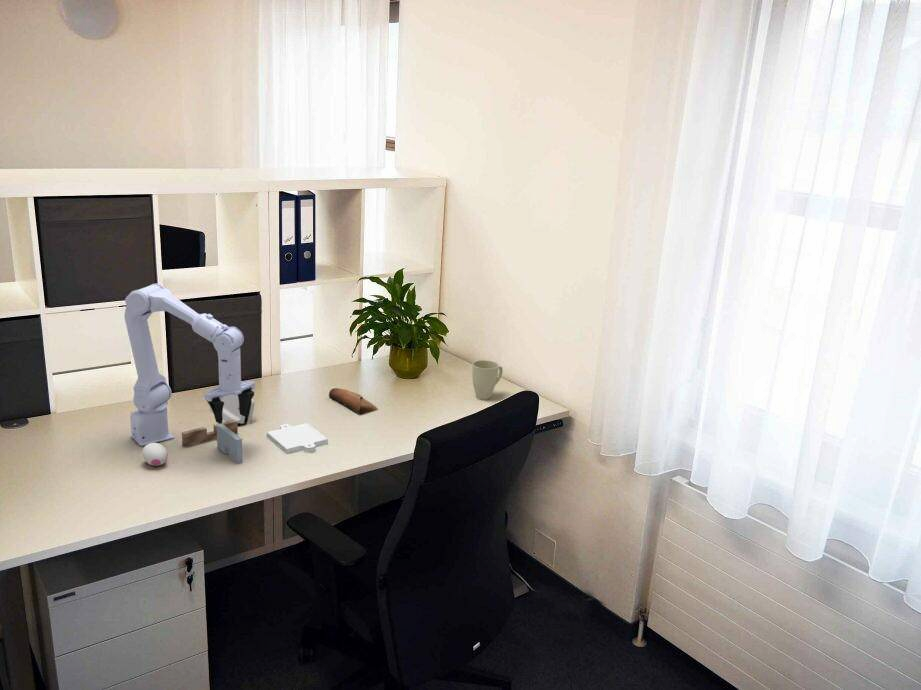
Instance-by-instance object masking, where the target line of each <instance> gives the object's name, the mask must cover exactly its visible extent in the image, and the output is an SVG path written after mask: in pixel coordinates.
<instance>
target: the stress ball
mask: <svg viewBox="0 0 921 690" xmlns="http://www.w3.org/2000/svg"><path fill="white" fill-rule="evenodd" d="M141 454H142V458H143V459H144V461H145V462H146V463H145V465H144V467H147V465H151V466H154V467H155V466H162V465H163V464H164V463H165V462H166V461H168V451H167V449H166V447H165V446H164V445H162V444H160V443H159V442H156V443H149V444H147V445H144V447H143V448H142V452H141Z"/></svg>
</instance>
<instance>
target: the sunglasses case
mask: <svg viewBox="0 0 921 690" xmlns="http://www.w3.org/2000/svg"><path fill="white" fill-rule="evenodd" d="M328 397H329V398H331V399H332V400H335V401H337V402H339V403H341V404H343V405H344V406H345V407H348V408H349V409H351V410H353V411H354V412H355V413H358V414H359V415H360V416H362V415H366V414H369V413H373V412H376V411H379V408H378V407H377V406H376V405H374V404H373V403H371V402H370V401H369V400H367V399H366V398H364V397H363V395H361V394H359V393H357V392H354V391H351V390H349V389H345V388H337V387H335V388H332V389H330V390H329V393H328Z"/></svg>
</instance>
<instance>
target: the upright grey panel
mask: <svg viewBox="0 0 921 690" xmlns="http://www.w3.org/2000/svg"><path fill="white" fill-rule="evenodd" d="M217 424H218V423H217ZM216 441H217V442H216V443H217V448H218V450H220V451H221V452H222V453H223V454H228V453H229V458H230V459H231V460H232V461H233V462H234V463H236V464H238V465H239V464H242V463H243V461H244V460H243V456H244V455H243V438H241V436H239V435H238V434H235V433H234V432H232V431H231V430H230V429H228V428H227V427H226V426H224V425H223V424H218V425H217V439H216Z"/></svg>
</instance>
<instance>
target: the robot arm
mask: <svg viewBox="0 0 921 690" xmlns="http://www.w3.org/2000/svg"><path fill="white" fill-rule="evenodd" d="M124 301H125V310H124V322H125V325H126V326H125V327H126V330H127V331H126V332H127V334H128V339H129V343H130V347H131V352H132V356H133V360H134V365H135V369H136V374H137V380H136V382H135V383H134V385H133V397H132V398H133V399H132V401H133V405H134V406H135V409H137V410H135V411H133V412H132V411H131V412H130V437H131V438H132V439H133V440H134V441H135V442H136V443H137V444H138V445H139V446H146V445H147V444H149V443H159V442H160V443H161V442H164V441H168V440H172V439H175V437H174V435H173V434H172V433H171V432H169V421H168V418H169V417H168V403H169V402H168V401H169V400H170V399H171V397H172V388H171V387H170V385H169V383H168V382H167V377H166V376H164V375H163V374H162V373H160V371H159V368H158V363H157V358H156V353H155V351H154V349H155V348H154V344H153V341H152V340H153V339H152V336H151V332H150V327H149V321H148V319H149V318H150V317H151V316H152V314H153V313H156V312H167V313H169V314H171V315H173V316H175V317H177V318H178V319H180V320H182V321H184V322H186V323H187V324H190V325H191V327H192V328H191V329H192V331H193V332H194V333H195V334H197V335H199V336H201V338H203V339H206V341H209V342H210V343H212V345H213V347H214V350H216V352H217V357H218V358H217V359H218V384H219V385H218V387H216V388H213V389H211V390H210V391H207V392H204V400H205V401H206V402H207V403H208V405H209V408H210V407H211V409H212V411H213V412H212V413H213V415H214V416H213V417H214V419H215V422H216V424H218V423H219V424H221V423H223V421H224V420H223V417H222V412H223V406H224V402H222V401H221V399H220V397H224V396H227V395H231V394H235V395H237V394H238V399H239V412H240V415H242V416H246V414H247V410H248V407H249V404H250V401H251V399H252V398H253V399H254V396H255V391H254V390H255V389H256V387H255V386H256V382H254V381H252V380H249V381H242V373H241V372H242V369H241V367H242V365H241V346H242V345H243V344H244V340H245V337H244V334H243V332H242V331H241V330H240V329H239V328H238V327H236V326H228V325H227V324H223V323H222V322H220V321H219V320H217V319H215V318H214V315H212V314H211V313H205V312H204V313H198V312H196V311H195V310H194V309H192V308H191V307H190V306H189V305H187V304H186V303H184V302H183V301H181V300H180V299H179V298H177V297H176V296H174V295H173V294H172V292H171V290H170V289H168V288H166V287H164V286H163V285H162V284H159V283H152V284H150V285H148V286H145V287H142V288H139V289H135V290H132V291H131V292H130V293H128V295H126V297H125V299H124Z"/></svg>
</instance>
